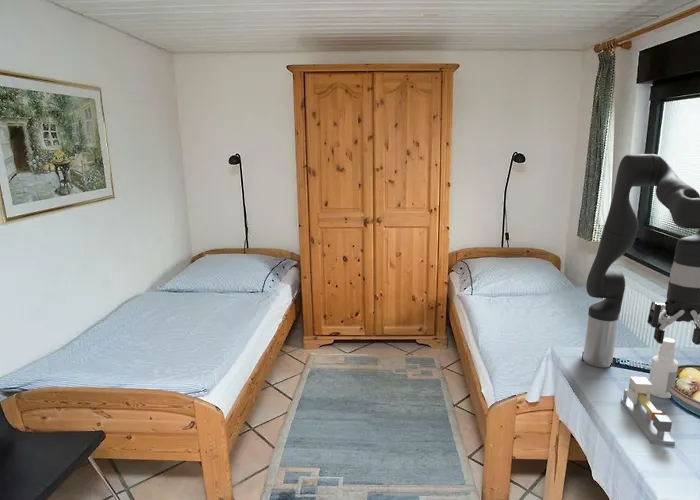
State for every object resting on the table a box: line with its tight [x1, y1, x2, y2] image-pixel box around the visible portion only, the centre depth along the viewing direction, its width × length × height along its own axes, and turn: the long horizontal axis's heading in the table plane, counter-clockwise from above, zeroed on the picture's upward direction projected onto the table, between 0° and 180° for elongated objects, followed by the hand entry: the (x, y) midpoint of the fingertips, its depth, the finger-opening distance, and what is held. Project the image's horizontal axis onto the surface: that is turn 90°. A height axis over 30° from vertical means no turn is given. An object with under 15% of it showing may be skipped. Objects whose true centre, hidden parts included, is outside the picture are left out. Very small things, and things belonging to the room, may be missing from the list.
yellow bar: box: [637, 393, 673, 433], centre depth 136 cm, size 18×3×3 cm, turn 173°
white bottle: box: [648, 337, 679, 399], centre depth 150 cm, size 7×7×18 cm
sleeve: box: [627, 376, 652, 404], centre depth 142 cm, size 4×4×6 cm
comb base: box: [620, 388, 676, 446], centre depth 137 cm, size 20×6×4 cm, turn 173°
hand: (677, 342), depth 121 cm, fingers open, 8 cm apart
